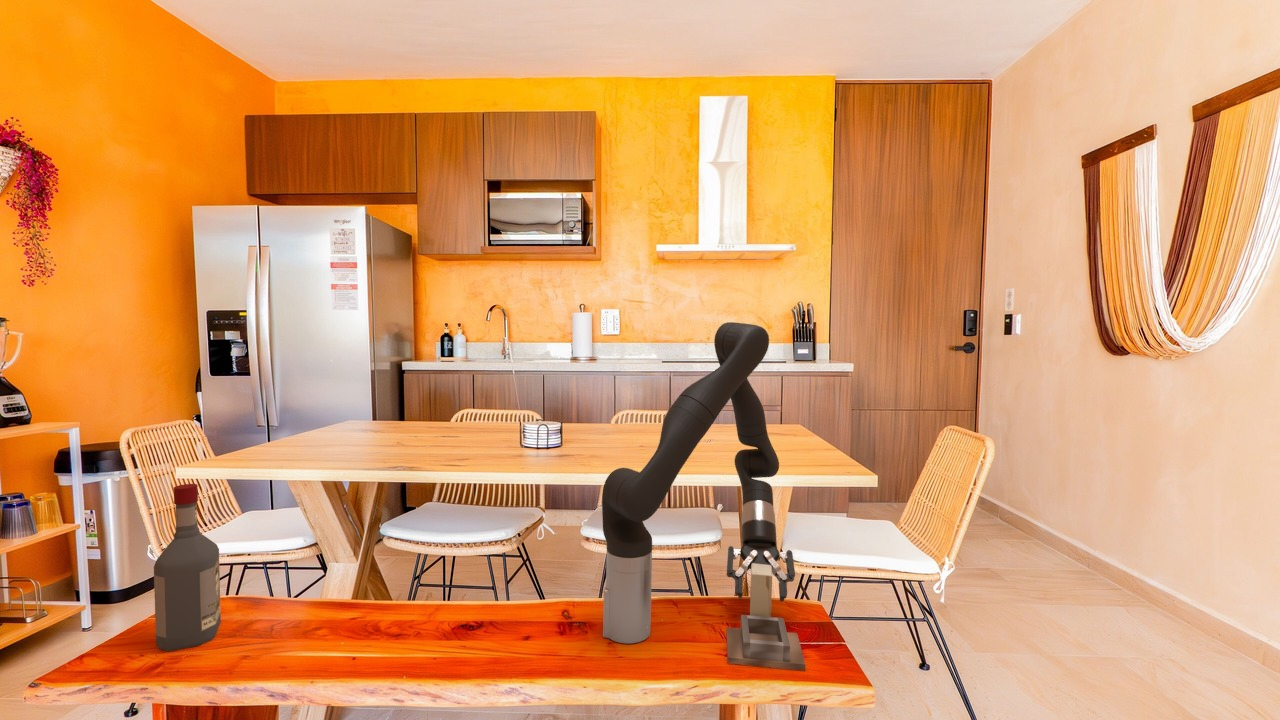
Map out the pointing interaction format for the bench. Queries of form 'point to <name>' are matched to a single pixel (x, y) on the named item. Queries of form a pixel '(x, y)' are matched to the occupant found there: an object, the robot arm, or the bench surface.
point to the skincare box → (761, 590)
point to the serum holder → (764, 644)
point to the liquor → (187, 581)
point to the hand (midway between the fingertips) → (761, 598)
